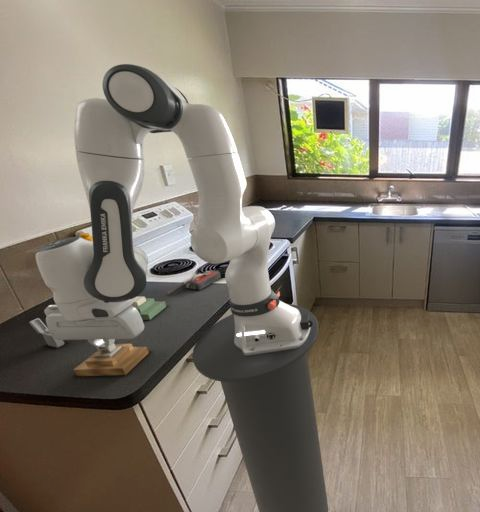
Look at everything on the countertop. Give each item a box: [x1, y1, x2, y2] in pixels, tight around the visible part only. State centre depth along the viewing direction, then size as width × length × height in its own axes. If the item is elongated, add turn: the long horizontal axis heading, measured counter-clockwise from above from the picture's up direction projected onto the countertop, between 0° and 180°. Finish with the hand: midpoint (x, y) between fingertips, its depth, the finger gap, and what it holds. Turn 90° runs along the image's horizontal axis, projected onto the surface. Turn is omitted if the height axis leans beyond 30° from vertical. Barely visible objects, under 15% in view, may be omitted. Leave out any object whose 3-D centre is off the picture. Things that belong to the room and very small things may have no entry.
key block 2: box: [135, 297, 167, 321], centre depth 97 cm, size 12×8×4 cm, turn 92°
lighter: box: [29, 317, 65, 349], centre depth 82 cm, size 7×2×8 cm, turn 75°
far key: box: [131, 295, 146, 307], centre depth 96 cm, size 4×4×2 cm
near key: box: [95, 346, 122, 358], centre depth 74 cm, size 4×4×2 cm
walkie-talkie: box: [165, 269, 222, 296], centre depth 115 cm, size 9×4×20 cm
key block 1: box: [73, 343, 149, 377], centre depth 75 cm, size 12×8×4 cm, turn 92°
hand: (107, 350), depth 74 cm, fingers closed, pressing on near key
